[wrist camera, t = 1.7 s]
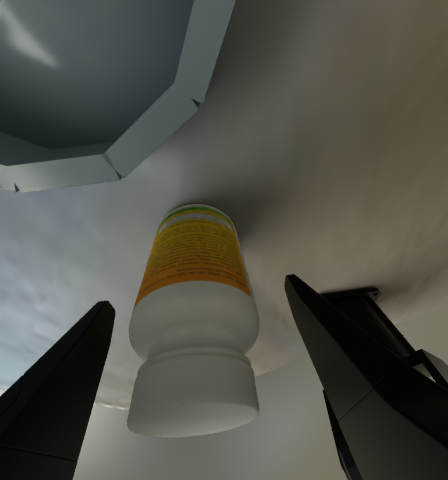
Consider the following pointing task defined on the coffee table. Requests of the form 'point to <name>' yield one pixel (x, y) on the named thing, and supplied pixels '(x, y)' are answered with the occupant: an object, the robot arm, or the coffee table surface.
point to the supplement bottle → (194, 329)
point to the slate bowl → (99, 84)
